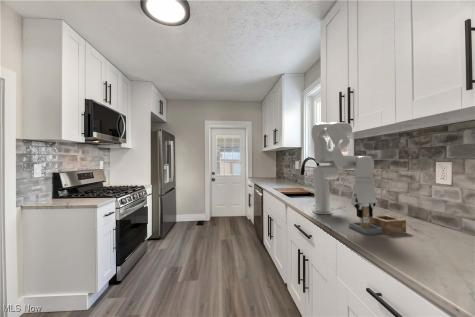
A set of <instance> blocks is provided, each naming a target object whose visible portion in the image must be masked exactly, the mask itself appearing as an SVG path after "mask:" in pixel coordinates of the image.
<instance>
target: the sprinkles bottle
mask: <svg viewBox="0 0 475 317" xmlns="http://www.w3.org/2000/svg"><path fill="white" fill-rule="evenodd" d="M361 210H362V213H363V217H362V218H360V217H358V218H359V222H360V226H361V227H363V228H366V229H370V218H369V203H365V204H362V208H361Z"/></svg>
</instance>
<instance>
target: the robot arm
mask: <svg viewBox="0 0 475 317" xmlns="http://www.w3.org/2000/svg"><path fill="white" fill-rule="evenodd" d="M352 132H353V127H352V125H351V124H350V123H349V122H340V121H339V122H337V121H336V122H318V123H314V124H313V125H312V127H311V139H312V142H313V155H314V161H315V163H317V164H320V165H317V166H315V167H313V169H312V177H313V182H314V205H313V207H314V208H313V209H312V213H315V214H318V215H331V214H333V213H334V212H333V210H331V194H330V192H331V191H330V189H331V188H330V184H329V183H328V181H327V180H336V179H338V178H339V177H340V173H341V171H340V170H342V171H355V175H354V176H355V182H354V183H353V186H352V194H351V195H352V196H351V197H352V198H351V199H352V200H351V201H350V204H351V206H352V205H353V206H354V208H355V209H356V217H358V218H359V217H360V218H362V217H363V213H362V210H361V208H362V204H365V203H369V217H373V216H374V213H373V211H374V209H375V206H376V205H377V204H378V202H379V200H378V199H377V196H376V188H375V184H374V180H375V178H374V176H373V175H374V174H373V173H374V171H373V170H374V169H373V167H374V166H373V158H372V156H371V155H344V154H343V152H342V151H341V150H343V149H346V147H348V146H349V144H350V141H351V140H350V138H349V137H350V136H351V134H353V133H352ZM325 136H327V137H330V140H331V141H332V143H333V145H334V146H333V149H331V148H328V142H327V140H326V138H325ZM321 164H322V165H321ZM323 164H325V165H323ZM327 164H329V165H327ZM360 218H359V219H360Z"/></svg>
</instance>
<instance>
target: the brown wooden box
mask: <svg viewBox="0 0 475 317" xmlns="http://www.w3.org/2000/svg"><path fill="white" fill-rule="evenodd" d="M369 218H370V224H372V225H375V226H378V227H381V228H383V234H385V235H395V234H396V235H397V234H405V233H407V221H406V219H403V218H399V217H397V216H392V215H389V214H378V215H373V217H369Z"/></svg>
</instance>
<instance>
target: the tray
mask: <svg viewBox="0 0 475 317" xmlns="http://www.w3.org/2000/svg"><path fill="white" fill-rule="evenodd" d="M348 228H349V229H352V230H354V231H357V232H359V233H361V234H364V235H365V236H370V235H382V234H384V233H383V228H381V227H378V226H375V225H372V224H370V229H366V228H363V227H361V226H360V221H353V222H348Z"/></svg>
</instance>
